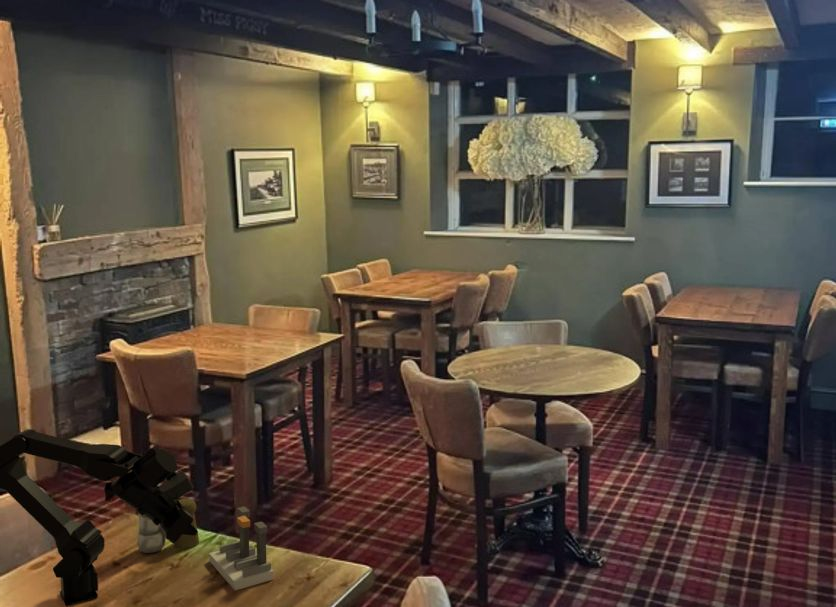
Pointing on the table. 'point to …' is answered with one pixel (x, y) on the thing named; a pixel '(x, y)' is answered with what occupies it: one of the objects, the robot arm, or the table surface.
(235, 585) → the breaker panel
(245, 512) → the handle
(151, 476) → the robot arm
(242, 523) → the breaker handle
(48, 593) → the table surface
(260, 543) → the right breaker handle
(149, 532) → the plastic bottle
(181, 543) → the olive pepper mill
